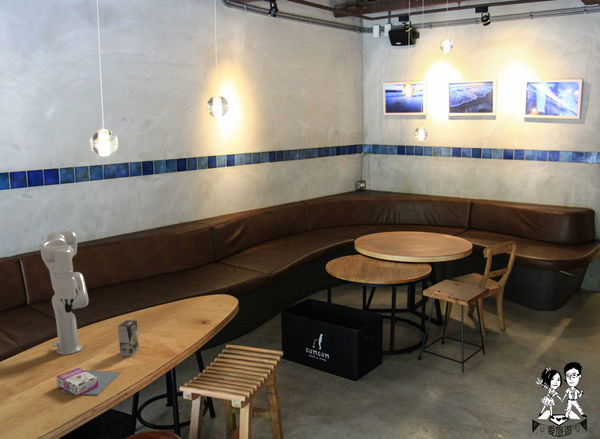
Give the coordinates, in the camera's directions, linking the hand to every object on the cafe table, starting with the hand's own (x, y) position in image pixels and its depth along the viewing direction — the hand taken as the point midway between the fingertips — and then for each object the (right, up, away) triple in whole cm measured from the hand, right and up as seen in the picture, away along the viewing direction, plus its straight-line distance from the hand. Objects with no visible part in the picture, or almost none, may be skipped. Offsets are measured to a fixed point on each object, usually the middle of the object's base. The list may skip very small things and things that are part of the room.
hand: (69, 311), depth 284 cm
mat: (+14, -31, -10) cm, 36 cm away
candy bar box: (+3, -28, -10) cm, 30 cm away
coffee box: (+23, -25, +22) cm, 40 cm away
